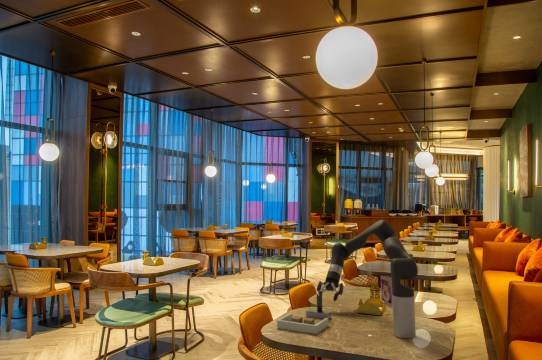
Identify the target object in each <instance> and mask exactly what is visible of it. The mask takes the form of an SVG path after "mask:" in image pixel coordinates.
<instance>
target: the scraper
mask: <svg viewBox="0 0 542 360" xmlns="http://www.w3.org/2000/svg"><path fill="white" fill-rule="evenodd" d="M312 317H313V319H319V320H320V319H322V320H324V319H325V318H328V320H330V319H332V311H328V310H327V311H326V310H323V294H322V295H321V294H319V293H318V294H316V309H311V308H309V309H307V310H306V311H305V318H312Z"/></svg>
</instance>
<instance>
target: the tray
mask: <svg viewBox="0 0 542 360" xmlns="http://www.w3.org/2000/svg"><path fill="white" fill-rule="evenodd" d="M293 317H294V316H293V312H291V313H288V314H286V315H285V316H283V317H281V318H279V319H277V320H276V328H277V329H282V330H287V331H288V330H289V331H293V332H294V331H295V332H301V333H309V334H314V335H317V334H319V333H320V332H321V331H323V330H324V329H326V328H327V327H328V326H329V319H328V318H325V319H322V320H320V321H318V323H315V325H311V324H304V322H303V323H297V322H292V320H291V318H293Z"/></svg>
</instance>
